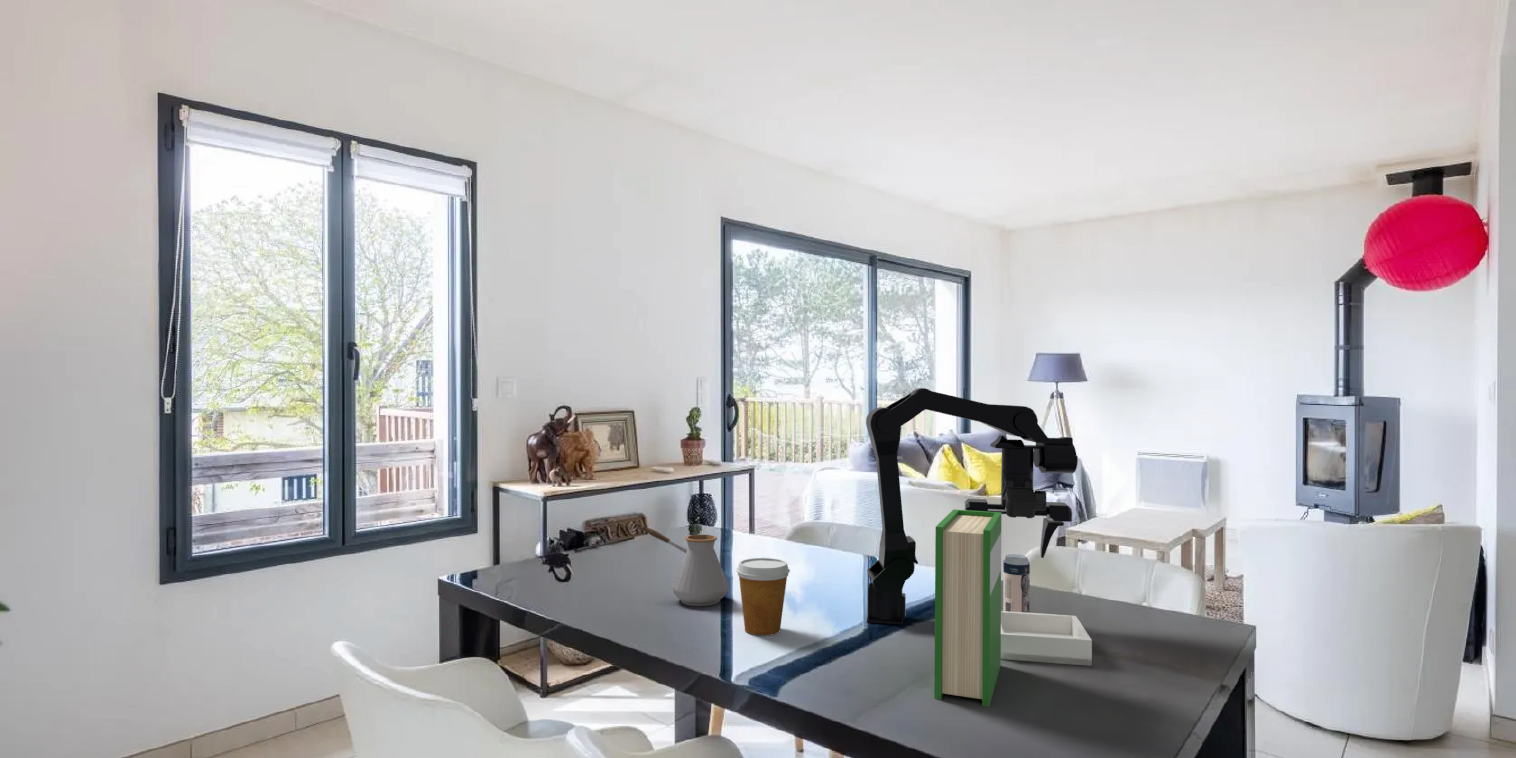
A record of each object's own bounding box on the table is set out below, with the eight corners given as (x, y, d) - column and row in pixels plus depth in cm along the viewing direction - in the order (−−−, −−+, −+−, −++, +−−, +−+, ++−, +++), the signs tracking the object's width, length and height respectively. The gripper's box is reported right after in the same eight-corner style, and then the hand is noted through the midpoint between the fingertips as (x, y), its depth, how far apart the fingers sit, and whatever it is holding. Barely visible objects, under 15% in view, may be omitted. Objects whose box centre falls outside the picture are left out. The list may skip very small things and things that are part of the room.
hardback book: (989, 706, 110) (990, 530, 110) (934, 698, 113) (935, 526, 113) (1000, 665, 126) (1001, 512, 127) (952, 659, 129) (953, 509, 129)
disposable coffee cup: (800, 630, 144) (800, 562, 144) (764, 642, 137) (764, 571, 137) (761, 619, 150) (761, 554, 150) (724, 630, 143) (725, 562, 143)
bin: (998, 658, 129) (999, 633, 129) (992, 633, 143) (992, 610, 143) (1091, 665, 127) (1091, 640, 127) (1075, 638, 140) (1075, 615, 140)
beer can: (1031, 625, 148) (1031, 559, 148) (1004, 623, 149) (1004, 558, 149) (1027, 618, 153) (1028, 554, 153) (1001, 616, 154) (1001, 553, 154)
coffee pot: (737, 597, 166) (737, 524, 166) (715, 611, 155) (716, 533, 156) (645, 587, 174) (645, 517, 174) (618, 600, 163) (618, 526, 163)
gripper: (967, 475, 145) (966, 562, 145) (1077, 479, 141) (1076, 568, 141) (965, 469, 156) (964, 550, 156) (1067, 472, 152) (1066, 555, 152)
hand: (1016, 556), depth 151 cm, fingers open, 9 cm apart
